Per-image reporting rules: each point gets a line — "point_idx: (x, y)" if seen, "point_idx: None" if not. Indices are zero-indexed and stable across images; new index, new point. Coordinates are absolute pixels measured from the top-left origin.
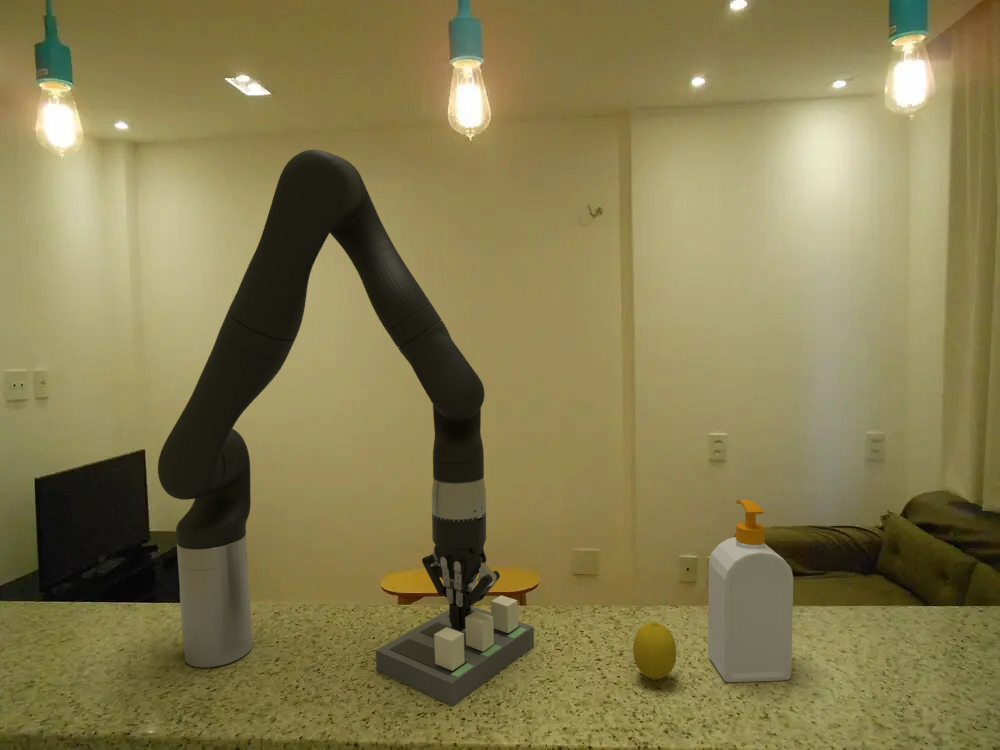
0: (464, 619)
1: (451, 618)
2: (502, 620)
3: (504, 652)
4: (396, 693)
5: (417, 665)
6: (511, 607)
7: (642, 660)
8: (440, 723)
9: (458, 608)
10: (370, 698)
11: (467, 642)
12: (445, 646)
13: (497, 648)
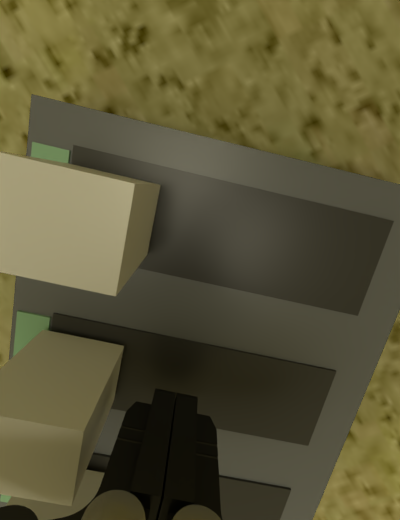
0: (119, 433)
1: (195, 427)
2: (37, 505)
3: None
4: (268, 108)
5: (228, 160)
6: None
7: None
8: (54, 16)
9: (133, 480)
10: (335, 46)
11: (114, 351)
12: (60, 164)
13: None
